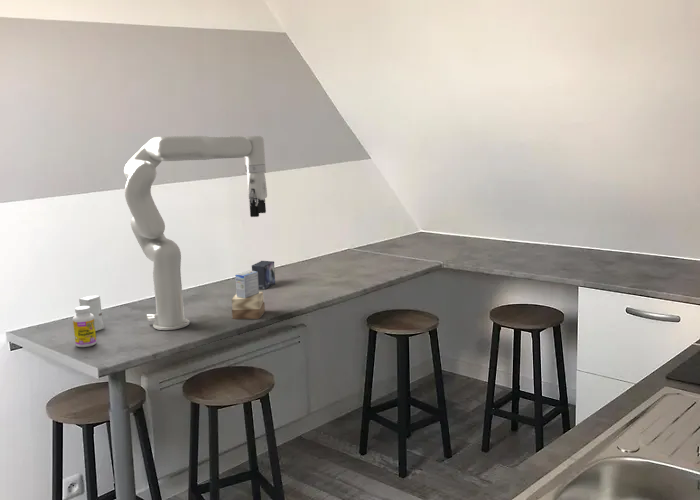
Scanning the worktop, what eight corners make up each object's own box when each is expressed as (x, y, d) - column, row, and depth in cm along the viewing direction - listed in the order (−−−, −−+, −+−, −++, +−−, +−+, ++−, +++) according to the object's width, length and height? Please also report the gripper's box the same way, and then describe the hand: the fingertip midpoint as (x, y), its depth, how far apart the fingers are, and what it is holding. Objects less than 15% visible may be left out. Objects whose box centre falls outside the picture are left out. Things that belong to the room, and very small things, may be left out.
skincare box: (90, 333, 251) (87, 300, 249) (81, 331, 253) (78, 298, 251) (104, 328, 256) (100, 295, 254) (95, 327, 258) (91, 294, 256)
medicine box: (250, 292, 270) (248, 270, 268) (259, 293, 267) (258, 271, 266) (236, 297, 263) (234, 274, 261) (245, 298, 261) (244, 275, 259)
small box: (265, 289, 304) (264, 265, 302) (252, 289, 306) (250, 265, 304) (276, 284, 314) (274, 260, 312) (262, 283, 316) (261, 260, 314)
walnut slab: (232, 320, 262) (231, 309, 261) (239, 312, 272) (238, 302, 271) (259, 320, 261) (258, 309, 260) (265, 312, 271) (264, 302, 270)
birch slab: (232, 309, 261) (231, 299, 260) (237, 302, 271) (236, 292, 270) (259, 309, 261) (259, 298, 260) (263, 302, 271) (262, 291, 270)
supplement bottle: (76, 349, 234) (72, 311, 231) (74, 343, 240) (70, 306, 237) (98, 345, 237) (93, 308, 234) (95, 340, 243) (91, 303, 240)
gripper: (259, 171, 257) (261, 218, 260) (271, 167, 273) (273, 211, 277) (238, 171, 258) (242, 218, 261) (252, 167, 275) (254, 211, 278)
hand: (258, 214), depth 269 cm, fingers open, 9 cm apart
